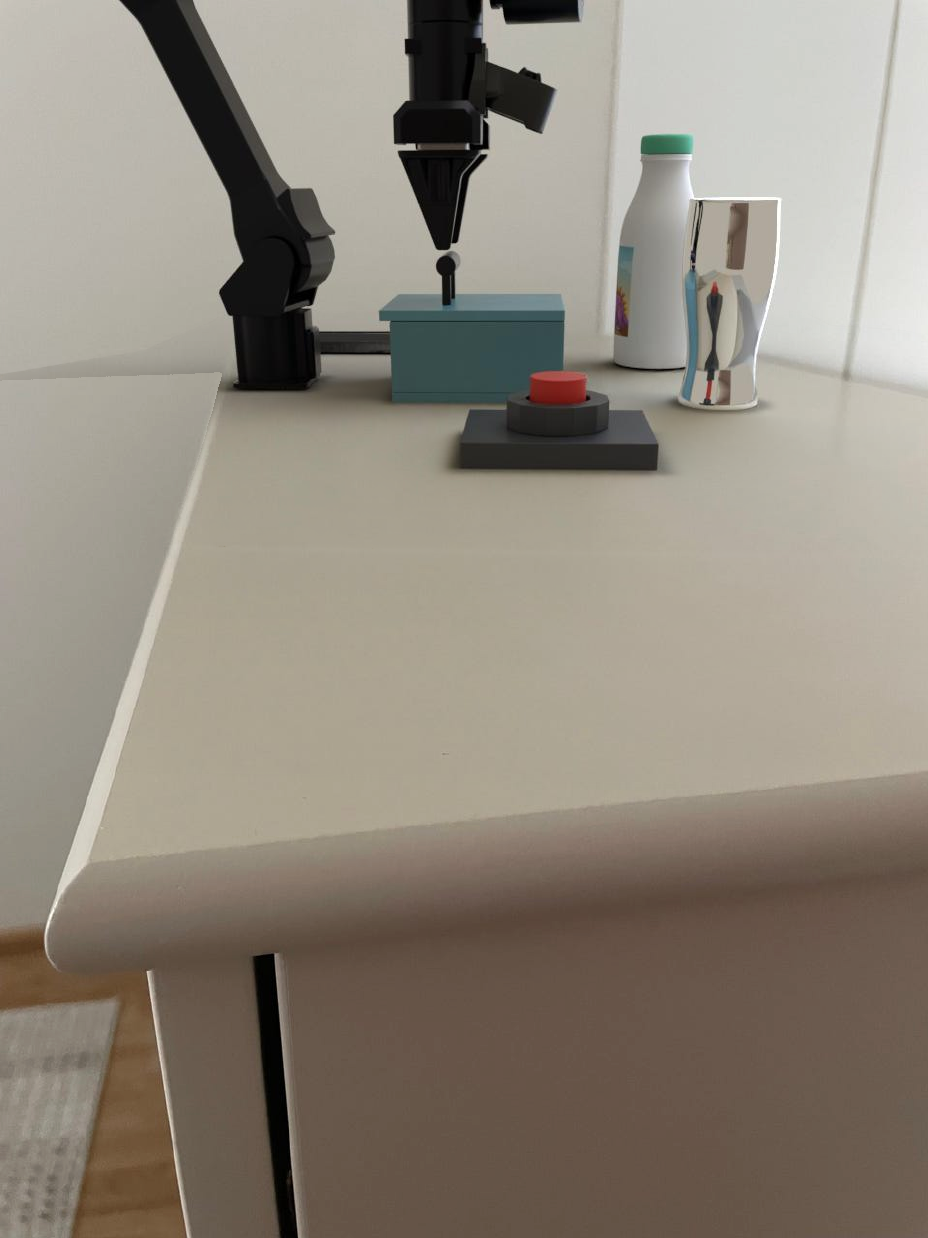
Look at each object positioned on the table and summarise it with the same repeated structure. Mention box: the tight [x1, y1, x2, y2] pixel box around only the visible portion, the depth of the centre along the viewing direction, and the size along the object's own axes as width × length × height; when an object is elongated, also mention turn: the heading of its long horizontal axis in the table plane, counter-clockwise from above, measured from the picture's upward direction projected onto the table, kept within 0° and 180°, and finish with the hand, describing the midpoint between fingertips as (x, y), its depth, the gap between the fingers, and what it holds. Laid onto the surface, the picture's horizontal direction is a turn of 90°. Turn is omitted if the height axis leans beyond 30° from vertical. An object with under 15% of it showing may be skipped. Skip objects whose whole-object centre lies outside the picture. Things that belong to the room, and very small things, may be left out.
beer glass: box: [677, 197, 782, 411], centre depth 79 cm, size 7×7×15 cm
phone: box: [319, 330, 391, 353], centre depth 110 cm, size 8×1×15 cm
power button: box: [530, 370, 588, 404], centre depth 66 cm, size 4×4×2 cm
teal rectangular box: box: [389, 321, 566, 403], centre depth 87 cm, size 14×13×6 cm
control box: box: [459, 389, 660, 471], centre depth 67 cm, size 12×10×4 cm
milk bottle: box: [613, 133, 695, 370], centre depth 96 cm, size 8×8×20 cm
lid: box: [378, 250, 566, 322], centre depth 85 cm, size 14×13×5 cm
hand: (447, 246), depth 84 cm, fingers open, 9 cm apart
